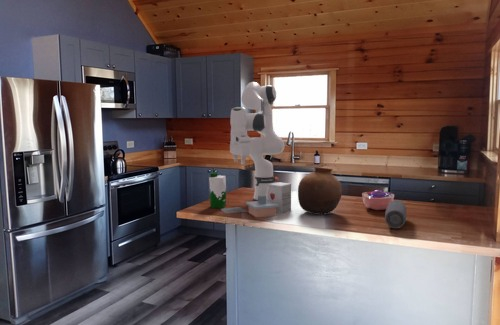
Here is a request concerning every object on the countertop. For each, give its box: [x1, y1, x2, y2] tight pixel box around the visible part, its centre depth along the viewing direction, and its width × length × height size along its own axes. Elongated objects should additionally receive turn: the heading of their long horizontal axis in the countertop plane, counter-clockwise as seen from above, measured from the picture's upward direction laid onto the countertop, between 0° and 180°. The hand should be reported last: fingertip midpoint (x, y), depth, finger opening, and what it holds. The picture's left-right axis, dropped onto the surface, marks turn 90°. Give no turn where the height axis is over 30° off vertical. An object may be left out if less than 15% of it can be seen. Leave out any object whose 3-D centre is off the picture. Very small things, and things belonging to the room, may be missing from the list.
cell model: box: [361, 189, 395, 211], centre depth 210 cm, size 17×20×11 cm
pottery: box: [297, 166, 343, 215], centre depth 202 cm, size 23×23×25 cm
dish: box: [248, 205, 277, 219], centre depth 202 cm, size 11×11×5 cm
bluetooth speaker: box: [384, 199, 408, 229], centre depth 180 cm, size 23×9×10 cm, turn 157°
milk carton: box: [208, 172, 227, 209], centre depth 220 cm, size 9×9×20 cm
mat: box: [219, 206, 248, 214], centre depth 212 cm, size 12×12×1 cm
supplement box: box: [269, 181, 292, 214], centre depth 210 cm, size 9×9×15 cm
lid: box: [245, 195, 279, 209], centre depth 201 cm, size 13×13×5 cm
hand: (239, 163), depth 206 cm, fingers open, 8 cm apart
